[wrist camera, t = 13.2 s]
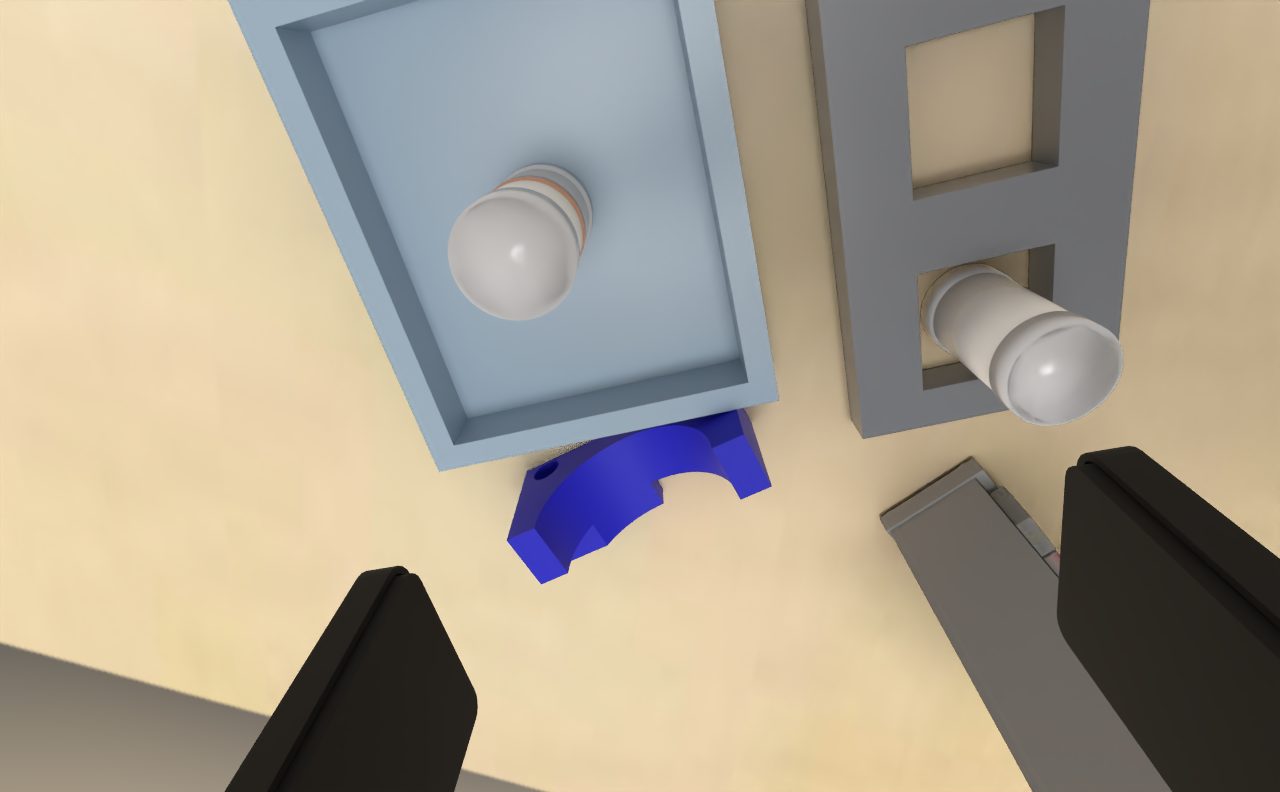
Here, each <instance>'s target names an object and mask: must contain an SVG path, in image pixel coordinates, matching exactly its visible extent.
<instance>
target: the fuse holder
mask: <svg viewBox="0 0 1280 792" xmlns="http://www.w3.org/2000/svg"><path fill="white" fill-rule="evenodd" d="M805 2H806V11H807V20H808V30H809V39H810V48H811V57H812V66H813V75H814V84H815V93H816V103H817V112H818V121H819V130H820V139H821V148H822V157H823V166H824V176H825V185H826V194H827V203H828V212H829V221H830V230H831V239H832V249H833V258H834V267H835V276H836V285H837V294H838V303H839V312H840V322H841V331H842V340H843V349H844V358H845V367H846V376H847V385H848V395H849V404H850V413H851V420H852V422H853V423H854V425H855V427H856V428H857V430H858V432H859V433H860V435H861V436H862V438H863V439H866V438H871V437H876V436H881V435H886V434H891V433H896V432H901V431H906V430H911V429H916V428H921V427H926V426H931V425H936V424H941V423H946V422H951V421H956V420H961V419H966V418H971V417H976V416H981V415H986V414H990V413H995V412H1000V411H1005V410H1010V409H1009V408H1007V407H1006V406H1005V405H1004V404H1003V403H1002V402H1001V401H1000V400H999V399H998V398H997V397H996V396H995V394H994V393H993V391H992V390H991V389H990V388H989V387H988V386H987V385H986V384H985V383H984V382H982V381H981V380H980V379H979V378H978V377H977V376H976V375H975V374H973V373H972V372H971V371H970V370H969V369H968V368H967V367H966V366H965V365H963V364H962V363H961V362H960V363H955V364H951V365H946V366H941V367H936V368H931V369H927V370H922V360H921V340H920V321H919V302H918V283H917V274H921V273H926V272H930V271H935V270H939V269H944V268H948V267H952V266H957V265H961V264H966V263H970V262H975V261H979V260H983V259H988V258H992V257H997V256H1001V255H1006V254H1010V253H1014V252H1019V251H1023V250H1028V249H1029V288H1028V289H1029V290H1030V291H1032V292H1034V293H1036V294H1038V295H1040V296H1041V297H1043V298H1045V299H1047V300H1049V301H1051V302H1052V303H1054V304H1056V305H1058V306H1060V307H1062V308H1063V309H1065V310H1067V311H1069V312H1074V313H1077V314H1080V315H1082V316H1084V317H1086V318H1088V319H1090V320H1092V321H1093V322H1095V323H1097V324H1099V325H1101V326H1103V327H1104V328H1106V329H1108V330H1109V331H1110V332H1112V333H1113V334H1114V335H1115V337H1116V338H1117V339H1118V341H1119V331H1120V320H1121V309H1122V298H1123V287H1124V277H1125V266H1126V255H1127V244H1128V233H1129V223H1130V212H1131V201H1132V190H1133V179H1134V169H1135V158H1136V147H1137V136H1138V125H1139V115H1140V104H1141V93H1142V82H1143V71H1144V61H1145V50H1146V39H1147V28H1148V17H1149V7H1150V0H805ZM1035 12H1036V15H1035V54H1034V93H1033V132H1032V161H1029V162H1025V163H1021V164H1017V165H1012V166H1008V167H1004V168H1000V169H996V170H992V171H987V172H983V173H979V174H975V175H971V176H966V177H962V178H958V179H954V180H950V181H946V182H941V183H937V184H933V185H929V186H925V187H921V188H916V189H913V188H912V169H911V150H910V131H909V112H908V93H907V74H906V55H905V47H906V46H910V45H914V44H917V43H921V42H925V41H929V40H933V39H936V38H940V37H944V36H948V35H952V34H955V33H959V32H963V31H967V30H971V29H975V28H978V27H982V26H986V25H990V24H994V23H997V22H1001V21H1005V20H1009V19H1013V18H1016V17H1020V16H1024V15H1028V14H1032V13H1035Z"/></svg>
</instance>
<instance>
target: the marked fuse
mask: <svg viewBox="0 0 1280 792" xmlns="http://www.w3.org/2000/svg"><path fill="white" fill-rule="evenodd" d="M592 224H593V206H592V201H591V198H590V195H589V193H588V191H587V189H586V188H585V186H584V185H583V183H582V182H581V181H580V180H579V179H578V178H577V177H576V176H575V175H574V174H573V173H571V172H570V171H569V170H567V169H565V168H563V167H560V166H558V165H555V164H550V163H535V164H530V165H527V166H524V167H522V168H520V169H518V170H517V171H516V172H514V173H513V174H511V175H510V176H509V177H508V178H507V179H506V180H505V181H504V182H503V183H502V184H500V185H499V186H498V187H496V188H495V189H494V190H492V191H491V192H489V193H487V194H485V195H483V196H482V197H480V198H479V199H478V200H476V201H475V202H474V203H472V204H471V205H469V206H468V207H467V208H466V209H465V210H464V211H463V212H462V213H461V214H460V216H459V217H458V218H457V220H456V222H455V224H454V225H453V228H452V230H451V233H450V237H449V241H448V261H449V266H450V270H451V273H452V275H453V278H454V280H455V282H456V284H457V285H458V287H459V289H460V290H461V291H462V293H463V294H464V295H465V297H466V298H467V299H468V300H469V301H470V302H471V303H473V304H474V305H475V306H476V307H478V308H479V309H481V310H482V311H484V312H486V313H488V314H490V315H492V316H495V317H498V318H501V319H506V320H515V321H520V320H529V319H534V318H537V317H540V316H543V315H545V314H547V313H549V312H550V311H552V310H553V309H555V308H556V307H557V306H558V305H559V304H560V303H561V302H562V301H563V300H564V299H565V297H566V296H567V294H568V293H569V291H570V289H571V287H572V285H573V282H574V279H575V276H576V273H577V270H578V267H579V261H580V257H581V254H582V251H583V248H584V246H585V244H586V242H587V240H588V238H589V235H590V232H591V228H592Z"/></svg>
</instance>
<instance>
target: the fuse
mask: <svg viewBox="0 0 1280 792" xmlns="http://www.w3.org/2000/svg"><path fill="white" fill-rule="evenodd" d="M921 322H922V325H923V328H924V330H925V332H926V333H927V335H928V336H929V337H930V338H931V339H932V340H933V341H934V342H935V343H936V344H938V345H939V346H940V347H941V348H942V349H943V350H945V351H946V352H948V353H950V354H952V355H953V356H954V357H956V358H957V359H958V360H959V361H960V362H961V363H962V364H963V365H965V366H966V367H967V368H968V369H969V370H970V371H971V372H972V373H973V374H975V375H976V376H977V377H978V378H979V379H980V380H981V381H982V382H984V383H985V384H986V385H987V386H988V387H989V388H990V389H991V390H992V391H993V393H994V394H995V396H996V397H997V398H998V399H999V400H1000V401H1001V402H1002V403H1003V404H1004V405H1005V406H1006V407H1007V408H1009V409H1010V410H1011V411H1012V412H1013V413H1014V414H1015V415H1016V416H1018V417H1019V418H1020V419H1022V420H1024V421H1026V422H1028V423H1031V424H1035V425H1041V426H1054V425H1061V424H1065V423H1069V422H1072V421H1074V420H1077V419H1079V418H1081V417H1083V416H1085V415H1087V414H1088V413H1090V412H1091V411H1093V410H1094V409H1096V408H1097V407H1098V406H1099V405H1100V404H1102V403H1103V402H1104V401H1105V400H1106V398H1107V397H1108V396H1109V395H1110V394H1111V392H1112V391H1113V390H1114V388H1115V386H1116V385H1117V383H1118V381H1119V378H1120V376H1121V373H1122V369H1123V350H1122V347H1121V344H1120V343H1119V341H1118V339H1117V338H1116V337H1115V335H1114V334H1113V333H1112V332H1110V331H1109V330H1108V329H1106V328H1104V327H1103V326H1101V325H1099V324H1097V323H1095V322H1093V321H1092V320H1090V319H1088V318H1086V317H1084V316H1082V315H1080V314H1077V313H1074V312H1069V311H1067V310H1065V309H1063V308H1062V307H1060V306H1058V305H1056V304H1054V303H1052V302H1051V301H1049V300H1047V299H1045V298H1043V297H1041V296H1040V295H1038V294H1036V293H1034V292H1032V291H1030V290H1029V289H1027V288H1025V287H1023V286H1021V285H1020V284H1018V283H1016V281H1015V280H1014V279H1012V278H1011V277H1010V276H1008V275H1006V274H1004V273H1003V272H1001V271H999V270H997V269H995V268H993V267H991V266H988V265H984V264H977V263H976V264H966V265H962V266H958V267H956V268H954V269H952V270H950V271H948V272H946V273H945V274H943V275H942V276H941V277H940V278H939V279H937V280H936V281H935V282H934V284H933V285H932V286H931V287H930V289H929V290H928V292H927V294H926V295H925V298H924V300H923V303H922V308H921Z"/></svg>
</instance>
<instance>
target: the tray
mask: <svg viewBox="0 0 1280 792" xmlns="http://www.w3.org/2000/svg"><path fill="white" fill-rule="evenodd" d="M228 2H229V4H230V6H231V8H232V11H233V13H234V15H235V17H236V20H237V22H238V24H239V26H240V29H241V31H242V33H243V35H244V37H245V40H246V42H247V44H248V46H249V49H250V51H251V53H252V55H253V58H254V60H255V62H256V64H257V66H258V69H259V71H260V73H261V75H262V78H263V80H264V82H265V84H266V87H267V89H268V91H269V93H270V95H271V98H272V100H273V102H274V104H275V107H276V109H277V111H278V113H279V116H280V118H281V120H282V122H283V124H284V127H285V129H286V131H287V133H288V136H289V138H290V140H291V142H292V145H293V147H294V149H295V151H296V153H297V156H298V158H299V160H300V162H301V165H302V167H303V169H304V171H305V174H306V176H307V178H308V180H309V182H310V185H311V187H312V189H313V191H314V194H315V196H316V198H317V200H318V203H319V205H320V207H321V209H322V211H323V214H324V216H325V218H326V220H327V223H328V225H329V227H330V229H331V232H332V234H333V236H334V238H335V240H336V243H337V245H338V247H339V249H340V252H341V254H342V256H343V258H344V261H345V263H346V265H347V267H348V269H349V272H350V274H351V276H352V278H353V281H354V283H355V285H356V287H357V290H358V292H359V294H360V296H361V298H362V301H363V303H364V305H365V307H366V310H367V312H368V314H369V316H370V319H371V321H372V323H373V325H374V327H375V330H376V332H377V334H378V336H379V339H380V341H381V343H382V345H383V348H384V350H385V352H386V354H387V356H388V359H389V361H390V363H391V365H392V368H393V370H394V372H395V374H396V377H397V379H398V381H399V383H400V385H401V388H402V390H403V392H404V394H405V397H406V399H407V401H408V403H409V406H410V408H411V410H412V412H413V414H414V417H415V419H416V421H417V423H418V426H419V428H420V430H421V432H422V435H423V437H424V439H425V441H426V443H427V446H428V448H429V450H430V452H431V455H432V457H433V459H434V461H435V464H436V466H437V468H438V470H439V472H440V471H445V470H450V469H455V468H459V467H464V466H469V465H474V464H478V463H483V462H488V461H493V460H498V459H502V458H507V457H512V456H517V455H521V454H526V453H531V452H536V451H540V450H545V449H550V448H555V447H560V446H564V445H569V444H574V443H579V442H583V441H588V440H593V439H598V438H602V437H607V436H612V435H617V434H622V433H626V432H631V431H636V430H641V429H645V428H650V427H655V426H660V425H664V424H669V423H674V422H679V421H684V420H688V419H693V418H698V417H703V416H707V415H712V414H717V413H722V412H726V411H731V410H736V409H741V408H746V407H750V406H755V405H760V404H765V403H769V402H774V401H779V397H778V391H777V385H776V379H775V373H774V366H773V360H772V354H771V348H770V342H769V336H768V330H767V324H766V317H765V311H764V305H763V299H762V293H761V287H760V281H759V275H758V268H757V262H756V256H755V250H754V244H753V238H752V232H751V226H750V219H749V213H748V207H747V201H746V195H745V189H744V183H743V177H742V170H741V164H740V158H739V152H738V146H737V140H736V134H735V128H734V121H733V115H732V109H731V103H730V97H729V91H728V85H727V79H726V73H725V66H724V60H723V54H722V48H721V42H720V36H719V30H718V24H717V17H716V11H715V5H714V0H228ZM535 163H550V164H555V165H558V166H560V167H563V168H565V169H567V170H569V171H570V172H571V173H573V174H574V175H575V176H576V177H577V178H578V179H579V180H580V181H581V182H582V183H583V185H584V186H585V188H586V189H587V191H588V193H589V195H590V198H591V201H592V206H593V224H592V228H591V232H590V235H589V238H588V240H587V242H586V244H585V246H584V248H583V251H582V254H581V257H580V261H579V267H578V270H577V273H576V276H575V279H574V282H573V285H572V287H571V289H570V291H569V293H568V294H567V296H566V297H565V299H564V300H563V301H562V302H561V303H560V304H559V305H558V306H557V307H556V308H555V309H553V310H552V311H550V312H549V313H547V314H545V315H543V316H540V317H537V318H534V319H529V320H520V321H515V320H506V319H501V318H498V317H495V316H492V315H490V314H488V313H486V312H484V311H482V310H481V309H479V308H478V307H476V306H475V305H474V304H473V303H471V302H470V301H469V300H468V299H467V298H466V297H465V295H464V294H463V293H462V291H461V290H460V289H459V287H458V285H457V284H456V282H455V280H454V278H453V275H452V273H451V270H450V266H449V261H448V241H449V237H450V233H451V230H452V228H453V225H454V224H455V222H456V220H457V218H458V217H459V216H460V214H461V213H462V212H463V211H464V210H465V209H466V208H467V207H468V206H469V205H471V204H472V203H474V202H475V201H476V200H478V199H479V198H480V197H482V196H483V195H485V194H487V193H489V192H491V191H492V190H494V189H495V188H496V187H498V186H499V185H500V184H502V183H503V182H504V181H505V180H506V179H507V178H508V177H509V176H510V175H511V174H513V173H514V172H516V171H517V170H518V169H520V168H522V167H524V166H527V165H530V164H535Z"/></svg>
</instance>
